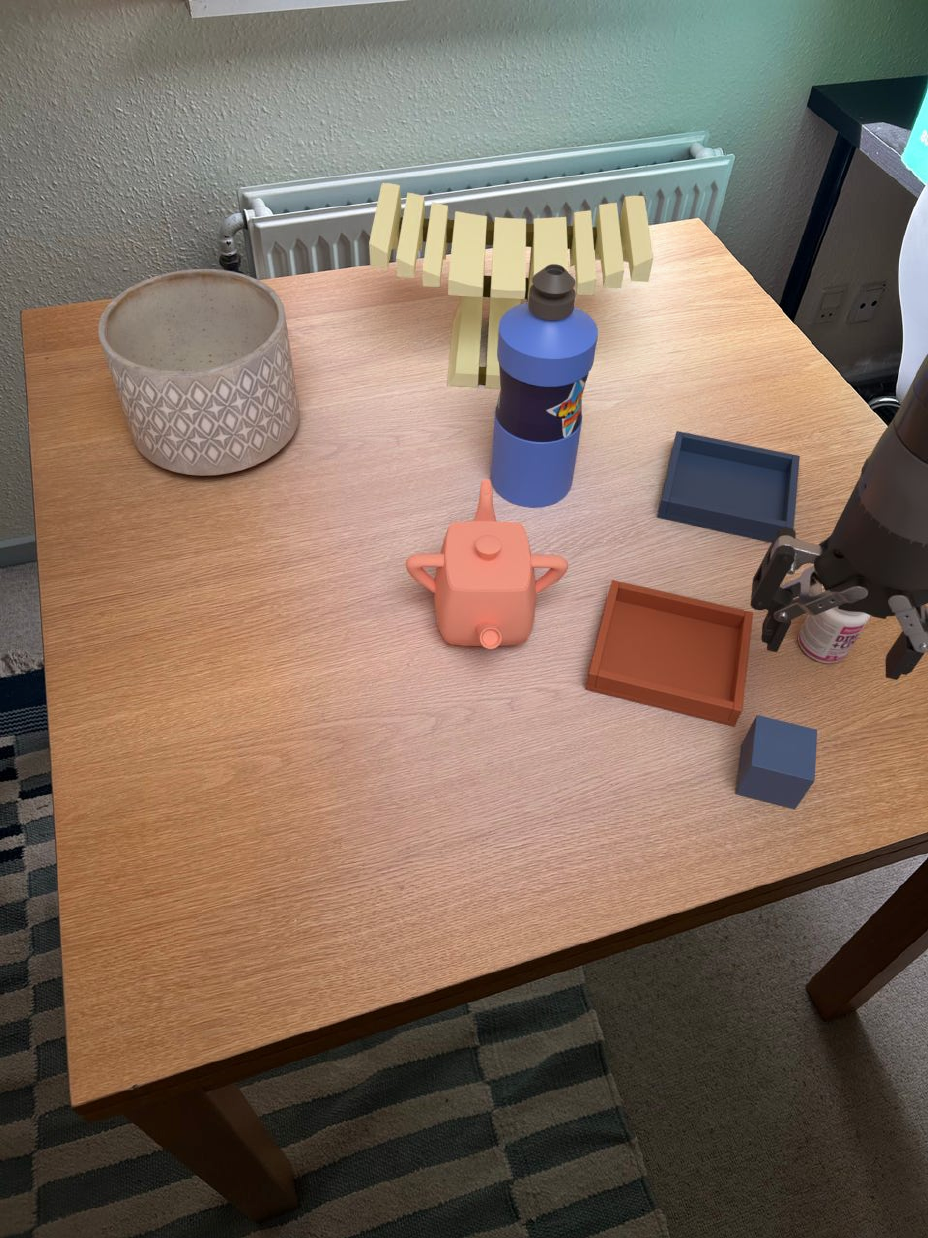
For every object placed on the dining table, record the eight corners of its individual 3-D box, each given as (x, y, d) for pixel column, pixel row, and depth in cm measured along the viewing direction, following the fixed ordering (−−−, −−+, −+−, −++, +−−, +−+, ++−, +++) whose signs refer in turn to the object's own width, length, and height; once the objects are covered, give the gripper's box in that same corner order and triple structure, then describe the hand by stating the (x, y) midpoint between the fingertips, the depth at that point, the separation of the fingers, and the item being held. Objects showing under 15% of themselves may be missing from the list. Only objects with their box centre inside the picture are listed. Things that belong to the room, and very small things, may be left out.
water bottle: (588, 471, 102) (626, 263, 82) (545, 520, 97) (574, 311, 77) (517, 439, 105) (537, 231, 85) (472, 484, 100) (482, 275, 80)
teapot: (579, 630, 88) (593, 559, 80) (485, 695, 83) (490, 626, 75) (482, 545, 94) (487, 471, 86) (390, 600, 89) (386, 527, 82)
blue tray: (792, 473, 102) (800, 455, 100) (786, 545, 95) (793, 528, 93) (671, 448, 104) (676, 430, 102) (656, 517, 98) (661, 499, 95)
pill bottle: (827, 673, 85) (861, 617, 79) (786, 641, 88) (816, 584, 81) (858, 648, 87) (893, 591, 81) (817, 617, 90) (848, 559, 83)
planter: (331, 408, 107) (320, 298, 96) (236, 507, 97) (211, 397, 85) (202, 361, 112) (176, 251, 101) (98, 450, 102) (57, 338, 90)
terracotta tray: (746, 628, 88) (753, 611, 86) (734, 727, 81) (742, 711, 79) (607, 596, 90) (612, 579, 88) (584, 689, 84) (588, 673, 81)
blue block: (798, 759, 80) (817, 729, 76) (795, 810, 77) (814, 781, 73) (740, 745, 80) (756, 714, 76) (735, 794, 77) (751, 765, 73)
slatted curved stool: (617, 318, 120) (642, 183, 106) (625, 394, 110) (653, 257, 96) (389, 306, 120) (384, 170, 106) (376, 381, 110) (369, 242, 97)
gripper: (799, 513, 53) (728, 673, 66) (1059, 566, 51) (933, 721, 64) (804, 432, 58) (737, 597, 70) (1043, 478, 56) (929, 639, 68)
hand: (830, 656), depth 67 cm, fingers open, 8 cm apart
